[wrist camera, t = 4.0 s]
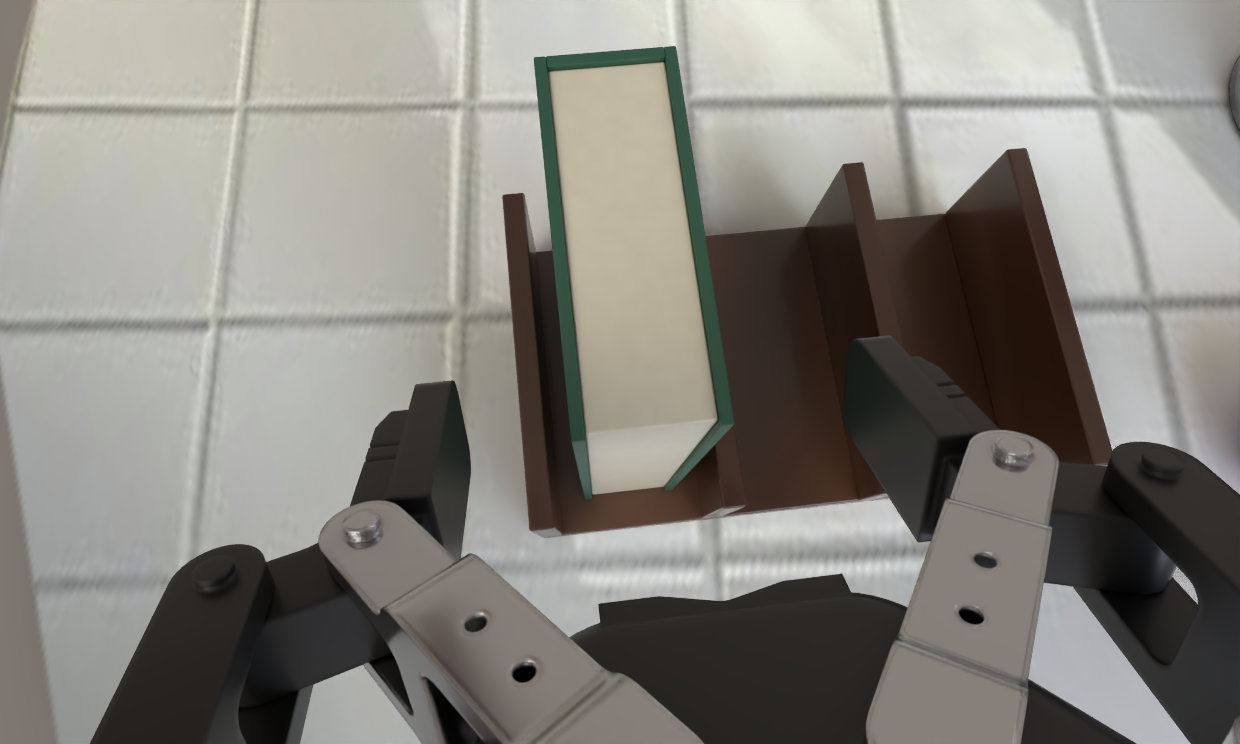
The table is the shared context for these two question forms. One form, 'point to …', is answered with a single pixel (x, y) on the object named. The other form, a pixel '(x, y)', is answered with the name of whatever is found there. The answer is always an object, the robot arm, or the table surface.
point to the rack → (829, 348)
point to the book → (630, 269)
